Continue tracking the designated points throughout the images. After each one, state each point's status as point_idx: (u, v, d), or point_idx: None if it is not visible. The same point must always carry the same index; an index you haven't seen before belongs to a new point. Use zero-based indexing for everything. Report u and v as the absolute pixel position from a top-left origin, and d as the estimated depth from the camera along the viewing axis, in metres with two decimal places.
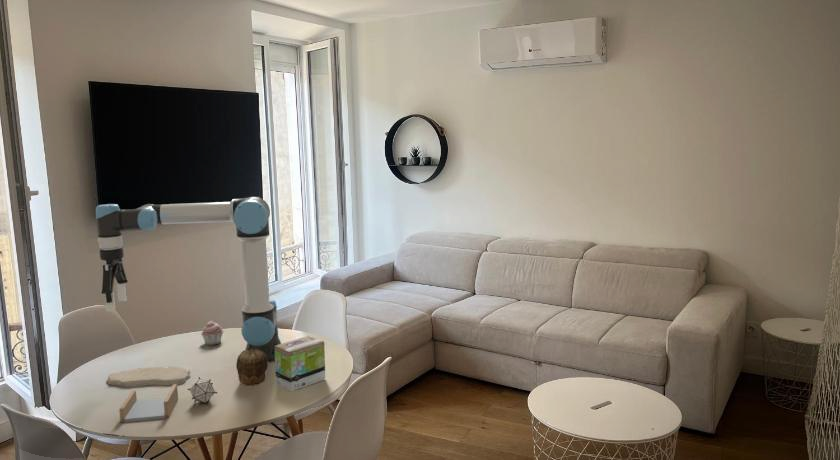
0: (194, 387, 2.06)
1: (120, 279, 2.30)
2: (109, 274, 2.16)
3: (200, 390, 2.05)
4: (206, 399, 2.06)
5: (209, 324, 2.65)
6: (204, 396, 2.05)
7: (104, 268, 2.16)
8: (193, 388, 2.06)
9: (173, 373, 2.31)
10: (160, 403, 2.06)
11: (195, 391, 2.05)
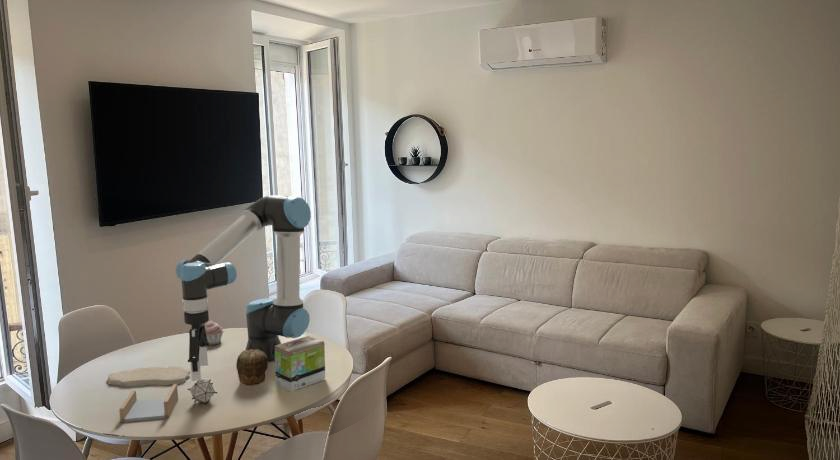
0: (194, 387, 2.06)
1: (202, 342, 2.11)
2: (196, 341, 1.98)
3: (200, 390, 2.05)
4: (206, 399, 2.06)
5: (209, 324, 2.65)
6: (204, 396, 2.05)
7: (191, 334, 1.98)
8: (193, 388, 2.06)
9: (173, 373, 2.31)
10: (160, 403, 2.06)
11: (195, 391, 2.05)
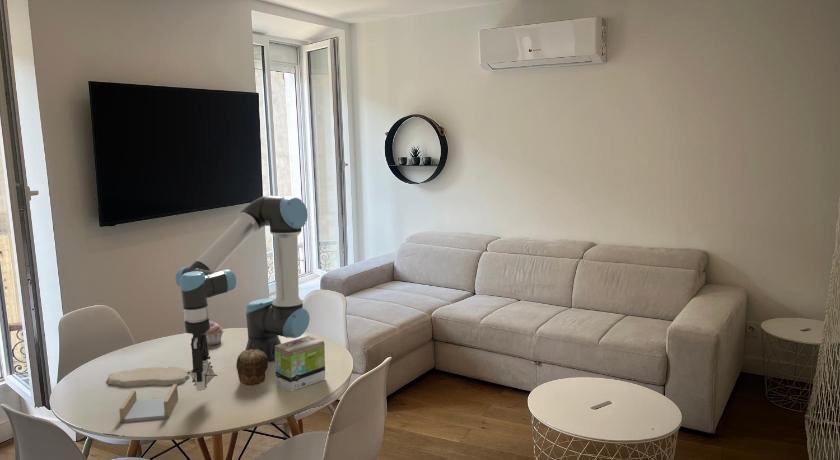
0: None
1: (203, 355, 2.11)
2: (198, 352, 1.99)
3: None
4: (206, 382, 2.06)
5: None
6: None
7: (192, 346, 1.99)
8: None
9: (173, 373, 2.31)
10: (160, 403, 2.06)
11: None
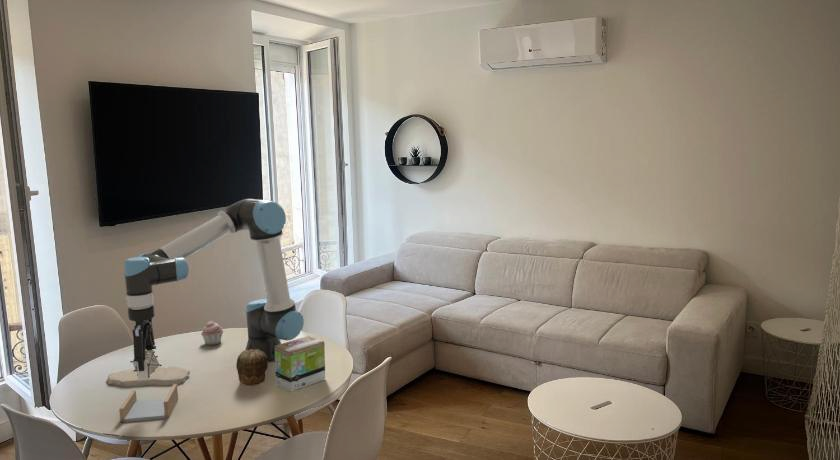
0: None
1: (148, 344, 2.04)
2: (140, 340, 1.93)
3: None
4: (149, 371, 1.99)
5: (209, 324, 2.65)
6: (147, 368, 1.98)
7: (134, 334, 1.92)
8: None
9: (172, 373, 2.31)
10: (160, 403, 2.06)
11: None
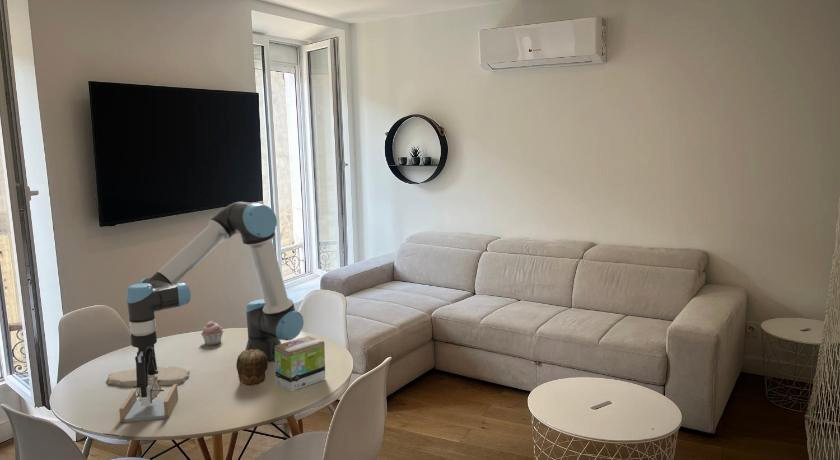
0: None
1: (151, 369, 2.05)
2: (143, 367, 1.94)
3: None
4: (152, 397, 2.00)
5: (209, 324, 2.65)
6: None
7: (137, 360, 1.93)
8: None
9: (172, 373, 2.31)
10: (160, 403, 2.06)
11: None
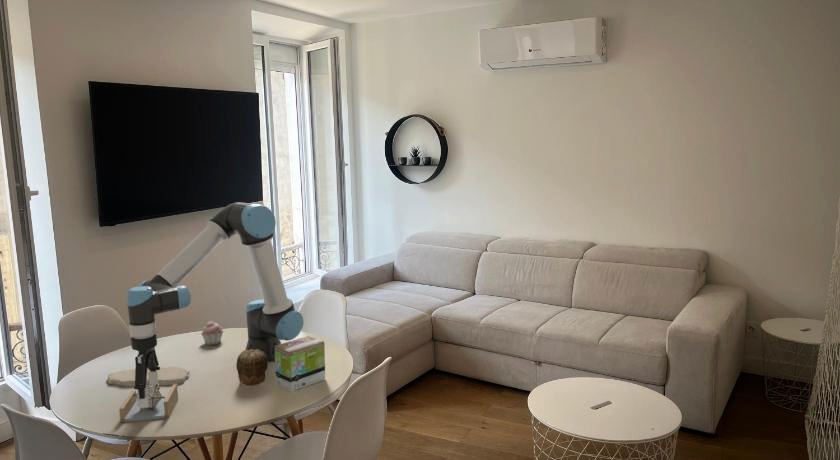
0: None
1: (152, 367, 2.07)
2: (142, 367, 1.93)
3: None
4: (153, 404, 2.00)
5: (209, 324, 2.65)
6: (151, 401, 1.99)
7: (137, 361, 1.93)
8: None
9: (172, 373, 2.31)
10: (160, 403, 2.06)
11: None
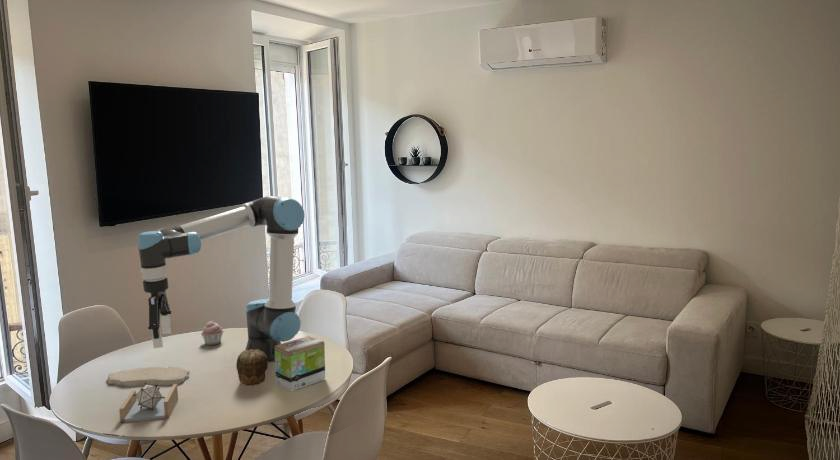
0: (140, 393, 2.00)
1: (164, 311, 2.13)
2: (156, 308, 1.99)
3: (147, 395, 1.99)
4: (153, 404, 2.00)
5: (209, 324, 2.65)
6: (151, 401, 1.99)
7: (150, 302, 1.99)
8: (139, 394, 2.00)
9: (172, 373, 2.31)
10: (160, 403, 2.06)
11: (141, 397, 1.99)
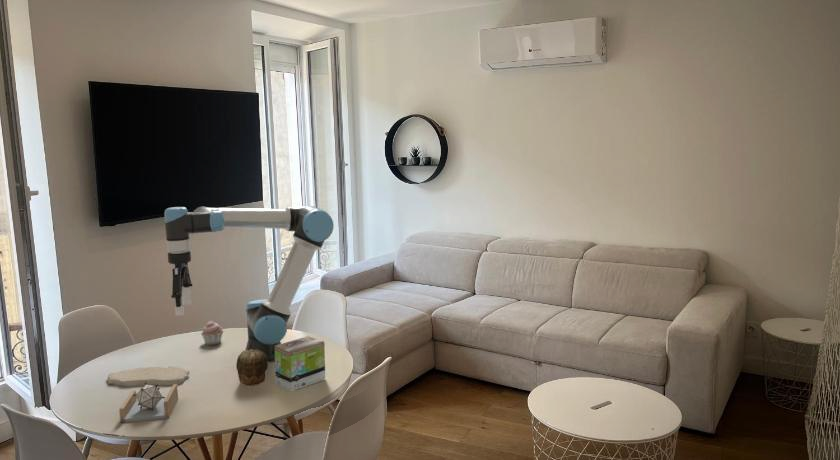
0: (140, 393, 2.00)
1: (186, 283, 2.27)
2: (179, 278, 2.13)
3: (147, 395, 1.99)
4: (153, 404, 2.00)
5: (209, 324, 2.65)
6: (151, 401, 1.99)
7: (174, 272, 2.13)
8: (139, 394, 2.00)
9: (172, 373, 2.31)
10: (160, 403, 2.06)
11: (141, 397, 1.99)
